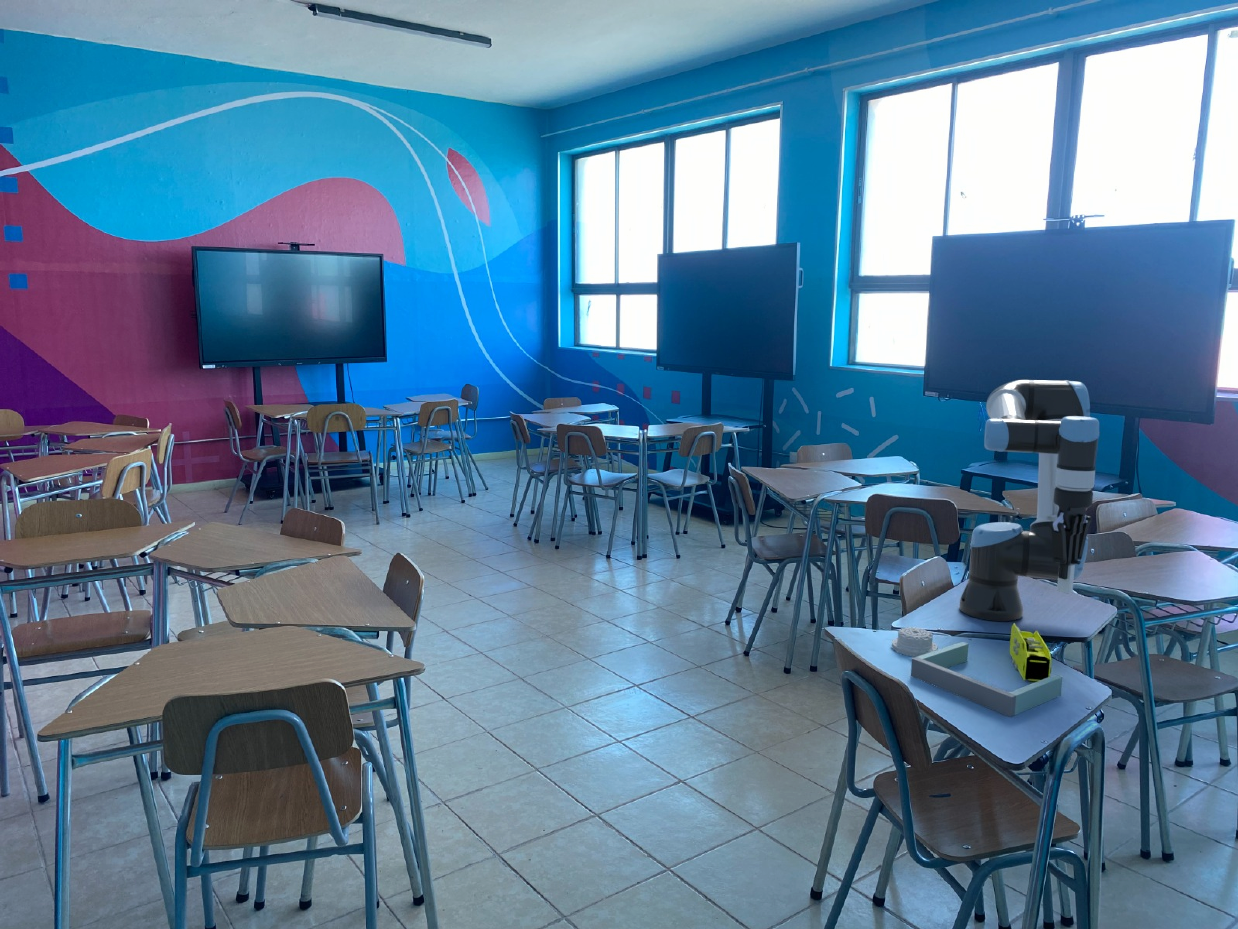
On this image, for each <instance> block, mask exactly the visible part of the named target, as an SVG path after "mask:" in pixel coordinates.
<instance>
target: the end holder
mask: <svg viewBox="0 0 1238 929" xmlns="http://www.w3.org/2000/svg"><path fill="white" fill-rule="evenodd" d="M969 644H970V643H967V642H964V641H962V642H957V643H955V644H952V645H948V646H945V647H942V648H940V649H939V648H938V650H936V651H933V652H930V653H927V654H924V655H921V656H917V657H914V656H913V657H912V658H911V664H910V666H911V667H910V677H912V678H915V679H917V680H919V681H921V680H922V682H924V681H925V682H924V683H926V682H927V684H929V685H931V684H933V685H932V686H934V685H935V686H934V687H936V686H937V687H936V688H938V689H941V690H944V691H946V692H948V693H951V694H953V695H956V696H958V697H961V698H963V699H966V700H968V701H970V702H973V703H974V704H978V705H980V706H982V707H984V708H987V709H990V710H992V711H995V712H997V713H999V714H1002V715H1004V716H1006V717H1009V718H1011V717H1013V716H1015V715H1018V714H1021V713H1023V712H1025V711H1027V710H1030V709H1032V708H1036V707H1037V706H1040V705H1041V704H1045V703H1046V702H1049V701H1051V700H1054V699H1057V698H1059V697H1061V696H1062V690H1063V689H1062V687H1063V679H1064V678H1063V677H1064V676H1061V675H1058V674H1053V675H1050V677H1048V678H1045V679H1043V680H1040V681H1038V682H1031V684H1027V685H1025V686H1023V687H1020V688H1017V689H1015V690H1013V691H1010V692H1008V691H1005V690H1004V689H1002V688H1001V689H1000V688H998V687H996V686H993V685H991V684H988V683H985V682H983V681H979V680H978V679H974V678H972V677H970V676H967V675H964V674H962V673H959V672H956V671H954V670H951V669H949V668H952V667H954V666H957V665H960V664H963V663H966V662H968V658H969Z"/></svg>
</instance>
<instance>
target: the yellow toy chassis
mask: <svg viewBox="0 0 1238 929" xmlns="http://www.w3.org/2000/svg"><path fill="white" fill-rule="evenodd" d="M1048 647H1049V646H1047V644H1046V643H1045V641H1044V640H1043V638H1042V637H1041V635H1040V633H1039V631H1038V630H1035V632H1031V631H1023V630H1021V629H1020V627H1019V626H1017V625H1016V623H1015V622H1014V623H1013V624H1012V625H1011V631H1010V640H1009V654H1010V656H1011V658H1012V659H1011V664H1012V666H1014V667H1013V668H1014V670H1016V671H1017V670H1018V672H1019V674H1020V676H1021V678H1022V679H1023V681H1028V682H1031V683H1035V682H1038V681H1040V680H1043V679H1045V678H1048V677H1050V676H1051V672H1052V655H1051V650H1050V649H1049V648H1048Z"/></svg>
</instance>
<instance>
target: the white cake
mask: <svg viewBox="0 0 1238 929" xmlns="http://www.w3.org/2000/svg"><path fill="white" fill-rule="evenodd" d="M897 632H898V633H897V637H895V638H894V639H893V640H892V642H891V648H892V649H893V651H895V652H897V653H898V654H901V655H905V656H908V657H913V658H914V657H917V656H921V655H924V654H927V653H930V652H933V651H936V650H939V648H938V645H937V644H936V643H935V642H933V636H934V635H933V632H931V631H927V630H926V629H925V628H919V627H917V626H916V627H913V626H911V627H909V626H908V627H905V628H903V627H902V628H900V629H899V630H898V631H897Z"/></svg>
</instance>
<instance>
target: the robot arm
mask: <svg viewBox="0 0 1238 929" xmlns="http://www.w3.org/2000/svg"><path fill="white" fill-rule="evenodd" d="M1090 402H1091V400H1090V395H1089V390H1088V388H1087V386H1086V385H1085V383H1083V382H1081V381H1077V380H1076V381H1074V380H1068V379H1065V380H1042V379H1041V380H1040V379H1039V380H1037V379H1017V380H1012V381H1009V382H1006V383H1004V384H1002V385H1000V386H998V387H997V388H995V389H994V390H993V391H991V393H990V394H989V396H988V397H987V400H986V404H985V406H986V413H987V415H988V418H989V419H987V420H986V421H985V426H984V428H985V429H984V437H983V438H984V441H983V442H984V443H983V444H984V448H985V449H986V450H987V451H993V452H994V451H995V452H996V451H997V452H1000V453H1001V452H1010V453H1035V454H1038V475H1037V476H1038V478H1037V480H1038V482H1037V508H1036V520H1034V521H1033V522H1032V523H1031V524H1030V526H1029V530H1023V529H1024V528H1023V527H1022V525H1021V524H1019V523H1015V522H1008V521H1006V522H1005V521H1003V522H1002V521H1000V522H999V521H997V522H989V523H981V524H979V525H977V526H976V527H975V528H974V529H973V531H972V533H971V534H972V535H971V542H970V545H969V546H970V558H969V568H968V569H969V571H968V581H967V582H966V586H965V587H964V590H963V592H962V594H961V597H960V599H959V610H960V612H962V613H964V614H965V615H967V616H970V617H973V618H977V619H981V620H984V621H985V620H986V621H994V622H1011V621H1017V620H1020V619H1021V618H1022V617H1023V611H1024V607H1023V604H1022V599H1021V596H1020V592H1019V589H1018V579H1019V577H1027V578H1035V579H1047V580H1055V581H1056V580H1057V587H1056V591H1057V592H1058V593H1062V594H1066V595H1071V594H1073V591H1074V581H1077V580H1079V579H1080V578H1081V576H1082V573H1083V572H1084V567H1085V563H1086V559H1087V554H1088V547H1089V537H1088V536H1087V535H1088V532H1089V527H1090V525H1091V523H1092V520H1093V518H1092V516H1089V515H1087V509H1088V508H1091V507H1092V506H1093V497H1094V491H1093V490H1092V489H1093V488H1095V479H1096V478H1095V477H1096V476H1095V475H1096V463H1097V453H1098V447H1099V446H1098V442H1099V437H1100V435H1101V434H1100V433H1101V432H1100V421H1099V420H1098V418H1095V417H1091V416H1090V415H1091V412H1090V409H1091V404H1090ZM1016 619H1017V620H1016Z"/></svg>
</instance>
